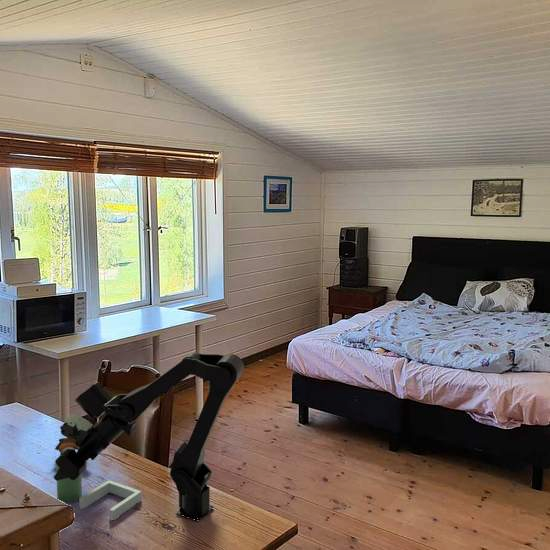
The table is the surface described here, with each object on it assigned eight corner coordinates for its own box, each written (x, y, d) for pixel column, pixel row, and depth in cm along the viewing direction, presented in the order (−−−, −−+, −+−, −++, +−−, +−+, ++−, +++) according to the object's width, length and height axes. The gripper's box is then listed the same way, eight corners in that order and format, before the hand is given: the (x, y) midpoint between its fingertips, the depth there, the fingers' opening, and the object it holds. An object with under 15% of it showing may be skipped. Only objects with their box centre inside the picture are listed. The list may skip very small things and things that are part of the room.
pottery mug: (45, 470, 149) (48, 438, 152) (70, 471, 157) (73, 441, 160) (80, 467, 145) (83, 434, 148) (104, 468, 153) (106, 437, 156)
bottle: (86, 494, 137) (85, 448, 135) (68, 505, 132) (67, 457, 130) (70, 488, 139) (69, 443, 137) (52, 499, 134) (50, 452, 132)
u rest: (141, 500, 134) (141, 491, 134) (113, 521, 126) (112, 510, 126) (109, 489, 139) (108, 480, 139) (79, 507, 131) (79, 498, 130)
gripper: (99, 392, 141) (60, 430, 144) (62, 422, 122) (17, 465, 125) (130, 424, 141) (90, 461, 144) (96, 459, 122) (51, 501, 125)
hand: (63, 470), depth 135 cm, fingers open, 7 cm apart
